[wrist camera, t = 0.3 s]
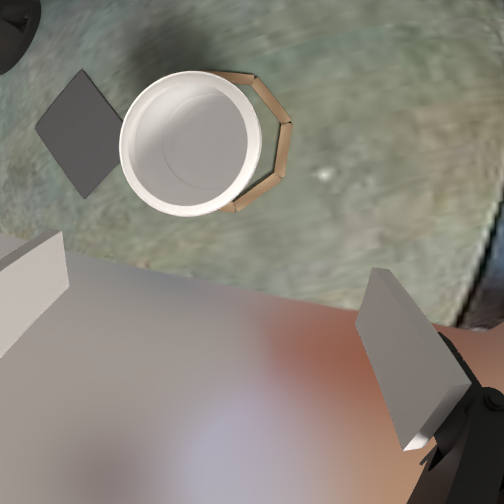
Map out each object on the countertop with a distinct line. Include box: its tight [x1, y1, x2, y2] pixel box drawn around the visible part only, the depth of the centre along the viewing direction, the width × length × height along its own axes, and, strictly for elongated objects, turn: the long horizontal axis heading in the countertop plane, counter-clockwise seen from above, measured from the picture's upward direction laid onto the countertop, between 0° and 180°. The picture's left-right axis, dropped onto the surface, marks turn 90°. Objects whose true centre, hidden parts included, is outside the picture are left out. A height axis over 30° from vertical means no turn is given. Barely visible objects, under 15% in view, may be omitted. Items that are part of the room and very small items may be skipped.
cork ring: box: [199, 70, 292, 213], centre depth 33 cm, size 16×16×1 cm
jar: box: [119, 71, 262, 217], centre depth 27 cm, size 11×10×15 cm
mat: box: [35, 70, 123, 199], centre depth 33 cm, size 14×11×1 cm
